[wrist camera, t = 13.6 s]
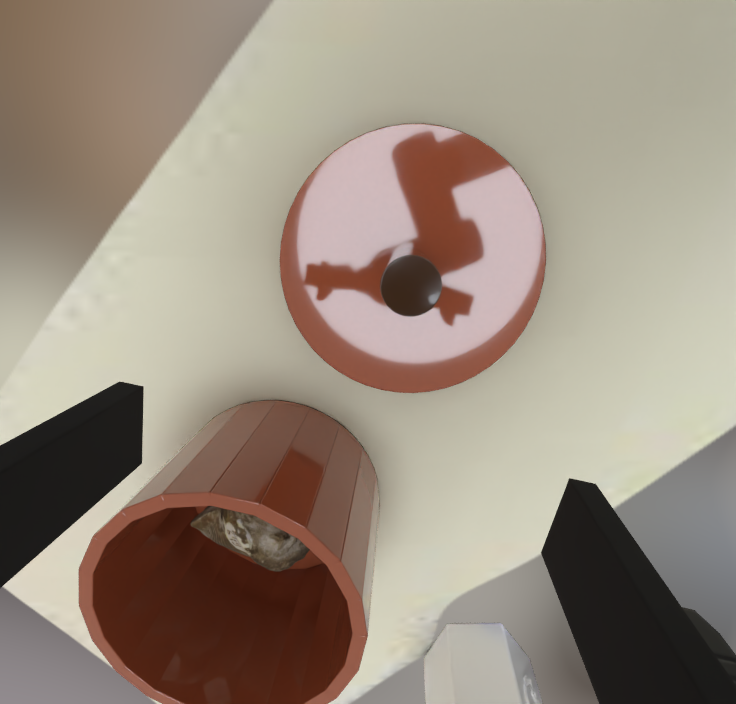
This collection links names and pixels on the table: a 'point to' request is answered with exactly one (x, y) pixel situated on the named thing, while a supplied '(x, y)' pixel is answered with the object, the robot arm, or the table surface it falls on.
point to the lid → (412, 258)
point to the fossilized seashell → (250, 537)
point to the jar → (478, 667)
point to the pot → (240, 565)
